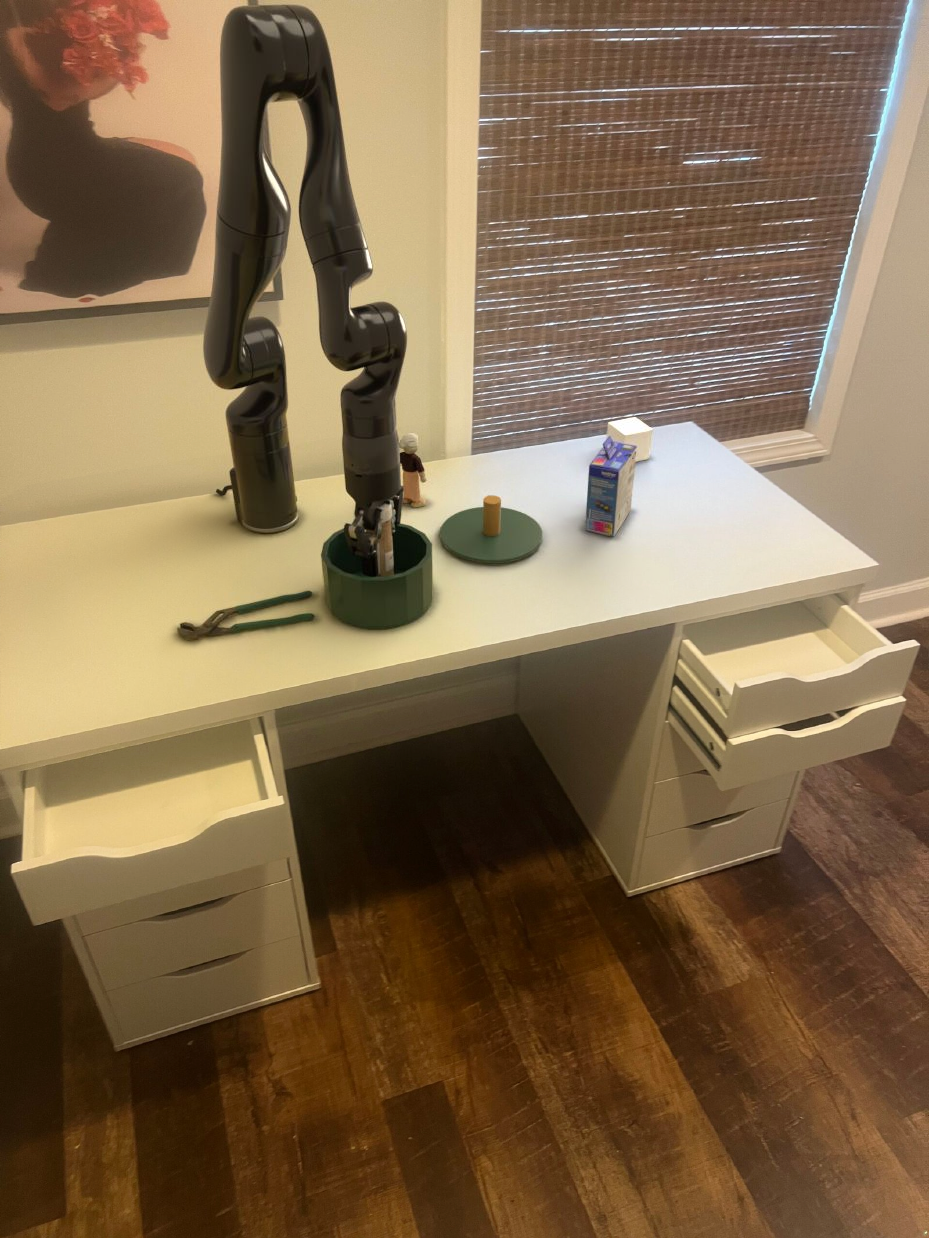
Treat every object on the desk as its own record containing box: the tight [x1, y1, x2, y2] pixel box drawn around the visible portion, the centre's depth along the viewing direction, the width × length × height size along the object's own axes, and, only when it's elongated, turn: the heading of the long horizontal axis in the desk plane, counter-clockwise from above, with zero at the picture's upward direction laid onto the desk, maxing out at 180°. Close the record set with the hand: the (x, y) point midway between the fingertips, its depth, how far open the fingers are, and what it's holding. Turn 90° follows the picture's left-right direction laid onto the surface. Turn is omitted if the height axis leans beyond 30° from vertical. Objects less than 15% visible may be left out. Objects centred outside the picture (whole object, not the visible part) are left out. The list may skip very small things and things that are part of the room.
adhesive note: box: [605, 416, 654, 463], centre depth 170 cm, size 6×6×6 cm
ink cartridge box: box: [584, 436, 637, 538], centre depth 148 cm, size 10×6×14 cm, turn 155°
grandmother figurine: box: [399, 432, 427, 508], centre depth 153 cm, size 8×4×13 cm, turn 58°
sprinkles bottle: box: [364, 503, 394, 577], centre depth 128 cm, size 5×5×14 cm
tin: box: [320, 522, 434, 631], centre depth 131 cm, size 16×16×8 cm
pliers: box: [176, 590, 316, 641], centre depth 129 cm, size 20×6×1 cm, turn 109°
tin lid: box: [439, 495, 543, 564], centre depth 145 cm, size 17×17×7 cm
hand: (378, 565), depth 130 cm, fingers closed on sprinkles bottle, 4 cm apart
